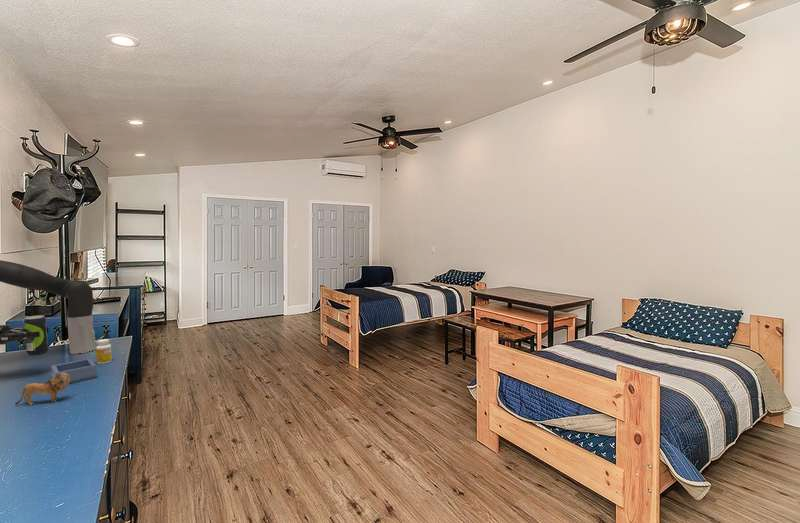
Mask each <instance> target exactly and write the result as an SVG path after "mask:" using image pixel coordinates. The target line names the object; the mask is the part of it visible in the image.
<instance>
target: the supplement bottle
mask: <svg viewBox="0 0 800 523" xmlns="http://www.w3.org/2000/svg"><path fill="white" fill-rule="evenodd" d="M95 347H96V350H95V354H96V355H95V356H96V363H97V364H99V365H102V364H104V363H105V364H108V363H111V362H112V361H113V354H112V352H113V351H112V345H111V343H110V339H108V338H104V339H103V338H101V339H100V340H99V339H98V340H97V346H95ZM105 364H104V365H105Z"/></svg>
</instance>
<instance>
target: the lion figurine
mask: <svg viewBox="0 0 800 523" xmlns="http://www.w3.org/2000/svg"><path fill="white" fill-rule="evenodd" d="M69 383H70V377H69V374H67V373H61V374H59V375H57V376H56V377H54V378H52V377H51V378H50V379H48V381H46V382H44V383H37V382H32V383H28V384H26V385H24V387H23V389H22V392H21V394H20V399H19V400H18V401H17V402H15V403H14V405H19V404H20V403H21V401H22V400H23V403H28V405H29V406H33V405H35V402H32V397H33V394H35V393H36V394H38V395H47V394H49V396H50V400H51V402H52V403H53V401H56V400H57V399H56V398H58V399H59V396H57V394H58V393H59V392H60V393H61V392H63V390H64V389H65V388H66V387H68V386H69V385H70V384H69ZM32 404H33V405H32Z"/></svg>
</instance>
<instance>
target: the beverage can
mask: <svg viewBox="0 0 800 523" xmlns="http://www.w3.org/2000/svg"><path fill="white" fill-rule="evenodd" d="M23 323H24V327H25V332H37V331H39V332H40V337H35V338H28V337H27V339H25V346H26V354H27V355H28V356H35V357H36V356H40V355H41V356H42V355H44V354H46V353H47V352H48V351H49V346H48V344H49V343H48V333H47V329H46V327H47V319H46V317H45V315H44V314H43V315H41V314H39V315H31V316H27V317H24V322H23Z"/></svg>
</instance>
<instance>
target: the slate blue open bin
mask: <svg viewBox="0 0 800 523" xmlns="http://www.w3.org/2000/svg"><path fill="white" fill-rule="evenodd" d="M50 366H51V367H50V368H51V379H52V378H54V377H56V376H57V375H59V374H61V373H67V374H69V377H70V383H71V384H75V383H79V381H80V382H82V381H83V380H84V381H88V380H87V379H89V380H93V379H97V378H98V375H97V374H98V373H97V364H95V362H94V361H93V360H92V358H86V359H85V358H84V359H80V360H75V361H70V362H66V363H65V362H64V363H59V364H53V365H50ZM74 382H75V383H74Z"/></svg>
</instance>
